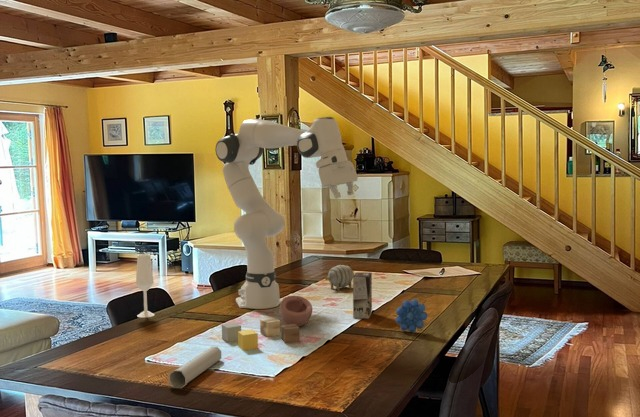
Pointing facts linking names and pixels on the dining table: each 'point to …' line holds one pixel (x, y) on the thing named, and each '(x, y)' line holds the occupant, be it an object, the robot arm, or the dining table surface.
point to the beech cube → (269, 326)
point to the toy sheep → (340, 276)
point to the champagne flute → (144, 279)
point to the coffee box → (362, 295)
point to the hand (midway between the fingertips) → (344, 196)
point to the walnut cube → (290, 333)
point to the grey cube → (230, 332)
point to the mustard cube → (247, 339)
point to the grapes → (411, 315)
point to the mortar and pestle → (295, 310)
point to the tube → (194, 367)
